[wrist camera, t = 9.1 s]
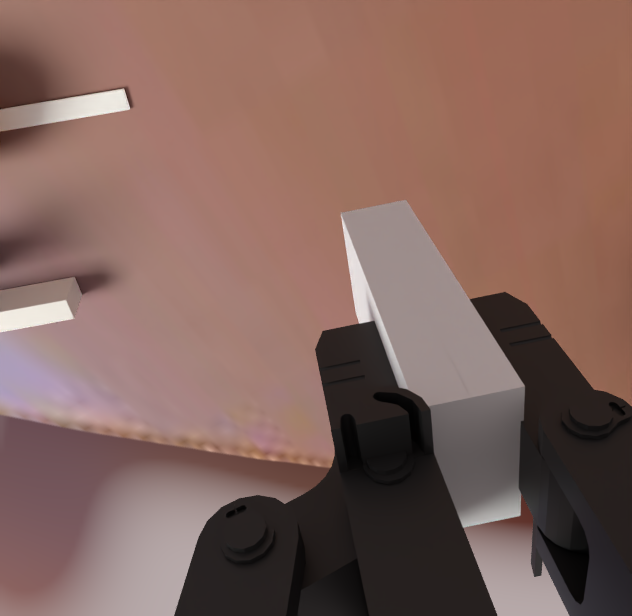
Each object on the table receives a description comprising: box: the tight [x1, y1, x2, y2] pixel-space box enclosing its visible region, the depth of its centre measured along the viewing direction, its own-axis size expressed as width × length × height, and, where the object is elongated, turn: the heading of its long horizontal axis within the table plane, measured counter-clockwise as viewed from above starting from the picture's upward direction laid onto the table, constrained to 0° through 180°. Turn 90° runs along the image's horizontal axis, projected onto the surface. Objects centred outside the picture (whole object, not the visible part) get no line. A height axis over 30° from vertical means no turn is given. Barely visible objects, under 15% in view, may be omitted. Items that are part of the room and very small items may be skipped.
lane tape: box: [0, 88, 130, 132], centre depth 36 cm, size 10×1×1 cm, turn 98°
